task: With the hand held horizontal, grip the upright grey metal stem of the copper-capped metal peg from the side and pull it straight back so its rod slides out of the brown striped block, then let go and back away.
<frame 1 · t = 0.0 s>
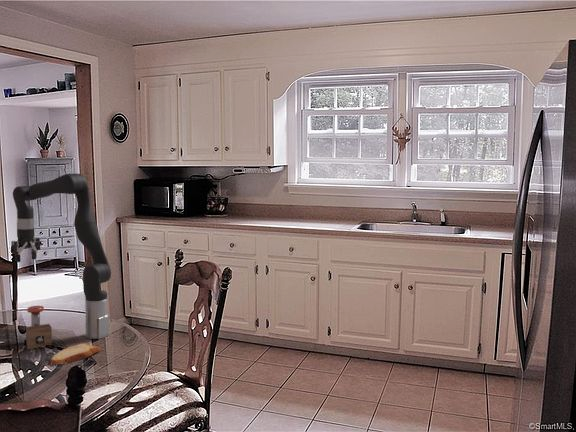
hand: (26, 260, 250), 29 cm above the table, tool pointing down, fingers open, 8 cm apart
brown striped block: (39, 346, 220), on the table
copper-capped metal peg: (37, 326, 222), point 8 cm above the table, slide at 0.0 cm
seeded bread slice: (75, 357, 210), on the table
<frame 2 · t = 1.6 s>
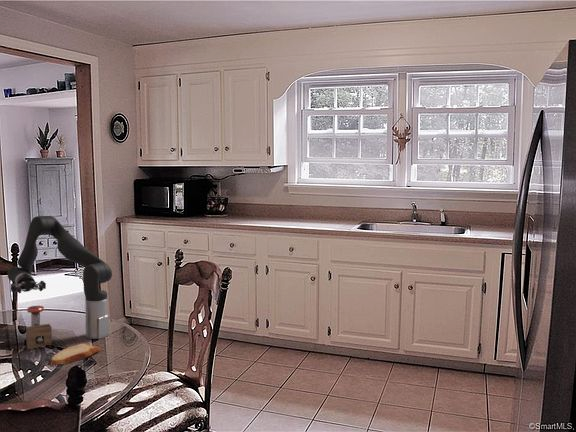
hand: (30, 290, 232), 20 cm above the table, tool horizontal, fingers open, 8 cm apart
nothing on the table moved.
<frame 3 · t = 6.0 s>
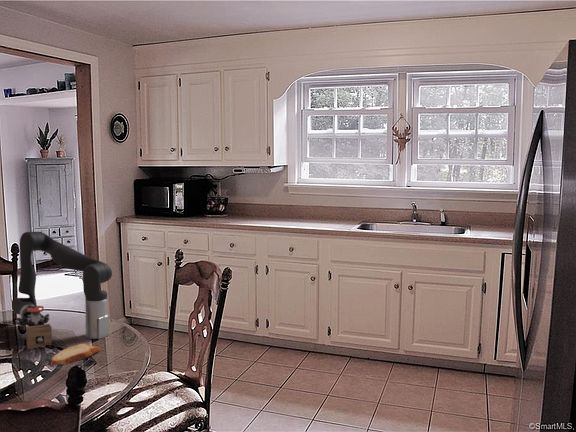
hand: (37, 324, 222), 8 cm above the table, tool horizontal, fingers closed on copper-capped metal peg, 3 cm apart
copper-capped metal peg: (37, 326, 222), point 8 cm above the table, slide at 0.0 cm, touching gripper
everything else where it was.
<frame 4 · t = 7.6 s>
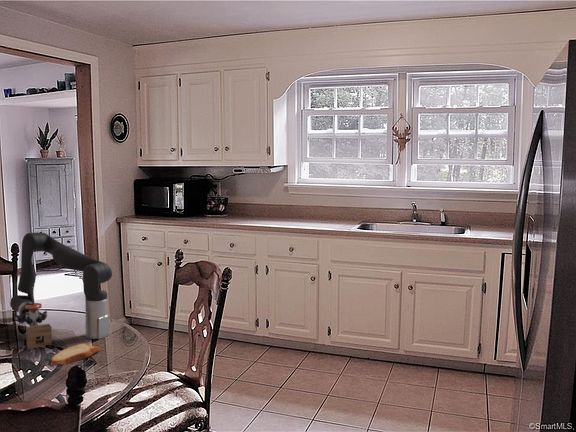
hand: (35, 321, 226), 8 cm above the table, tool horizontal, fingers closed on copper-capped metal peg, 3 cm apart
copper-capped metal peg: (35, 323, 226), point 8 cm above the table, slide at 4.9 cm, touching gripper
everything else where it was.
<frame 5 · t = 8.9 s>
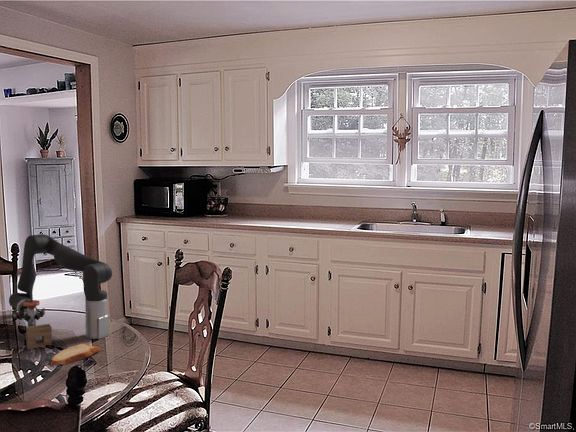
hand: (32, 318, 230), 8 cm above the table, tool horizontal, fingers closed on copper-capped metal peg, 3 cm apart
copper-capped metal peg: (33, 319, 230), point 8 cm above the table, slide at 10.0 cm, touching gripper
everything else where it was.
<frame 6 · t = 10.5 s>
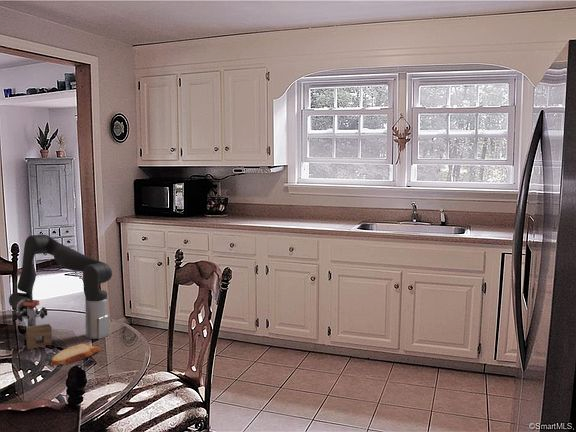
hand: (32, 317, 231), 8 cm above the table, tool horizontal, fingers open, 8 cm apart
copper-capped metal peg: (33, 319, 230), point 8 cm above the table, slide at 10.2 cm
everything else where it was.
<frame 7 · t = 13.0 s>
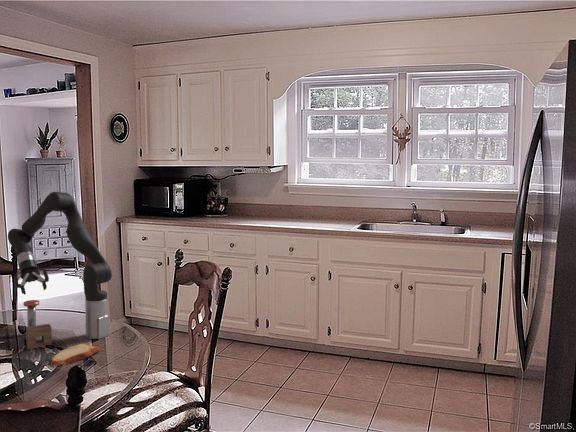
hand: (35, 291, 241), 17 cm above the table, tool tilted 45°, fingers open, 8 cm apart
nothing on the table moved.
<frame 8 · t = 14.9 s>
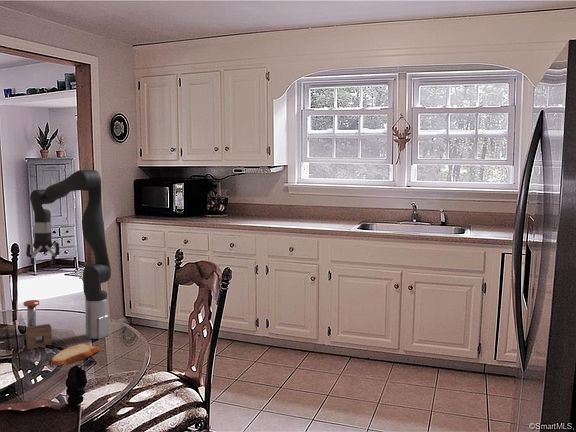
hand: (43, 264, 248), 28 cm above the table, tool pointing down, fingers open, 8 cm apart
nothing on the table moved.
at the end: copper-capped metal peg slide at 10.2 cm; the gripper is holding nothing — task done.
